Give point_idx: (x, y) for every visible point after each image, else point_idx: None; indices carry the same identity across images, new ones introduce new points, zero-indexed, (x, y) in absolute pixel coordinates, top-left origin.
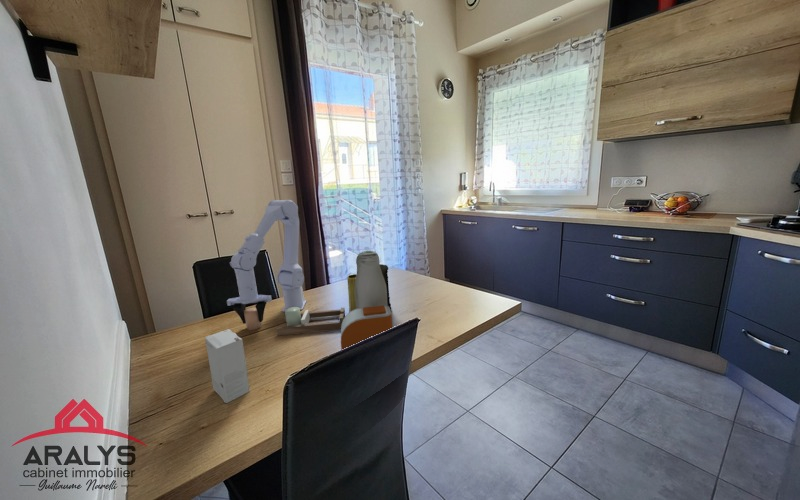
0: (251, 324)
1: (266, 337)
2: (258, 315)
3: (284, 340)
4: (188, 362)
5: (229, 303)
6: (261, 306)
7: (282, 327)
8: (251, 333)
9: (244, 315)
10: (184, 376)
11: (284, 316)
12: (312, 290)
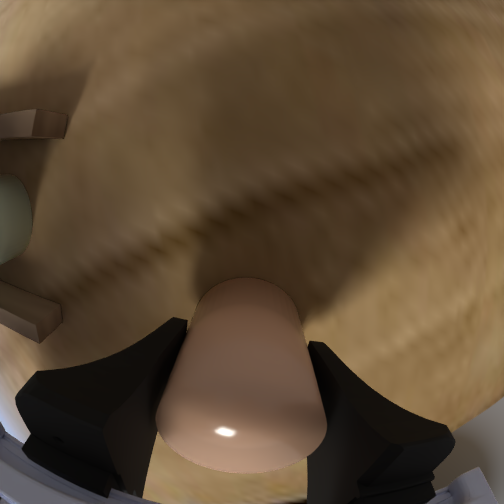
0: (251, 298)
1: (128, 103)
2: (163, 349)
3: (45, 54)
4: (493, 42)
5: (473, 489)
6: (34, 380)
7: (10, 123)
8: (250, 215)
9: (317, 385)
10: None
11: (37, 321)
12: None
